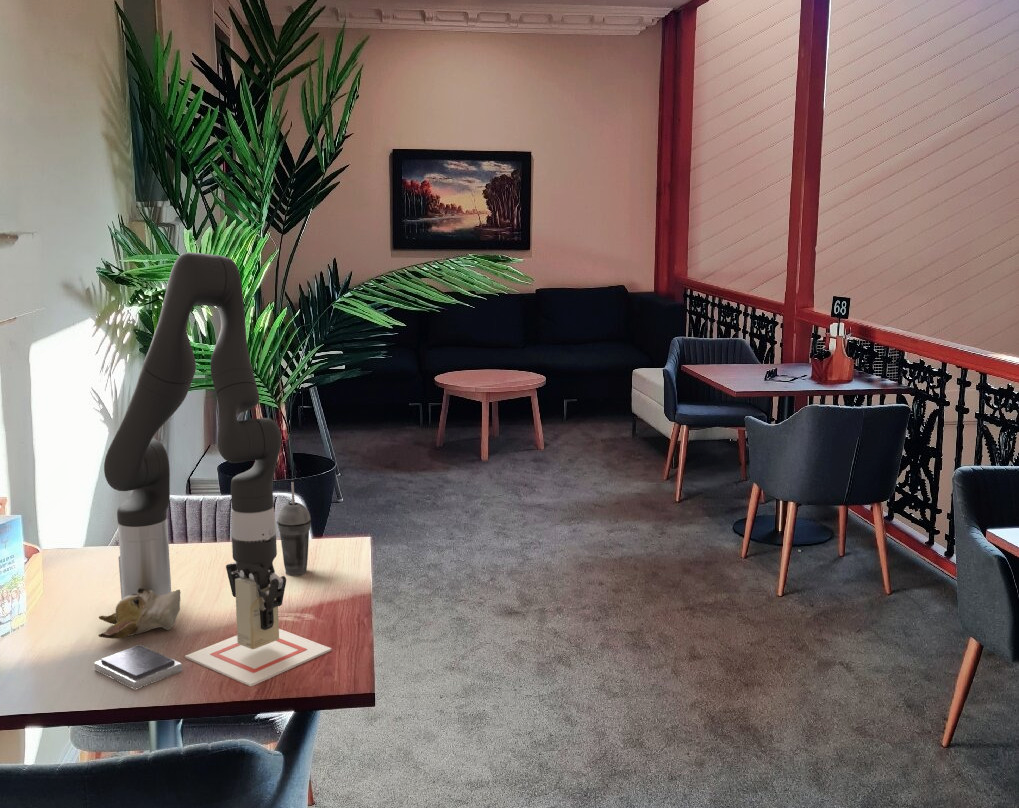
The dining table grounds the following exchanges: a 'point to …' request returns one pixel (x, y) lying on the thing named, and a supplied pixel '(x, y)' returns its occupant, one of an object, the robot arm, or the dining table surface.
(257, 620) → the skincare box
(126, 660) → the ink pad
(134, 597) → the ceramic sculpture
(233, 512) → the robot arm
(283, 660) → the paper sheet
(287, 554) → the beverage cup
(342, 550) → the dining table surface
